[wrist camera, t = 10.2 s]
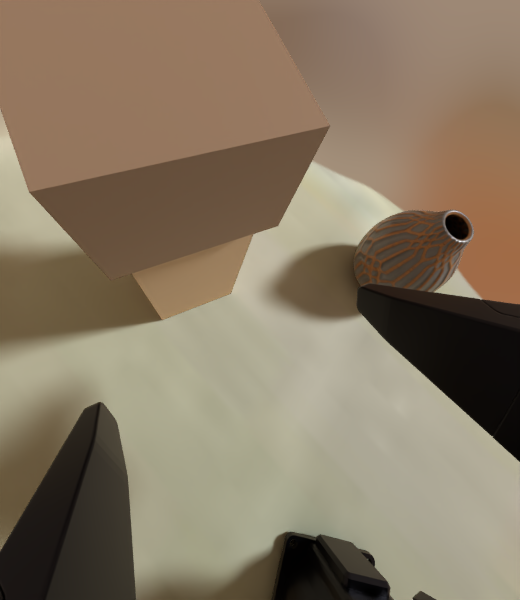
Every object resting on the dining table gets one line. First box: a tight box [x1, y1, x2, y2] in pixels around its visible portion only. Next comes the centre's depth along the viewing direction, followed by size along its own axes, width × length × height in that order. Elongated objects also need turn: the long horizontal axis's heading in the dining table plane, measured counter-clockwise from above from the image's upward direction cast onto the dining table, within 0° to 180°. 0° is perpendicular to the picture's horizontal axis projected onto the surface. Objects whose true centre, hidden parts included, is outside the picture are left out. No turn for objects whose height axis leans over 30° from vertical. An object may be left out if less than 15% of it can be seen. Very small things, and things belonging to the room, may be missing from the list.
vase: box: [353, 210, 474, 292], centre depth 22 cm, size 7×7×9 cm
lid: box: [0, 0, 330, 280], centre depth 9 cm, size 7×7×5 cm
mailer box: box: [132, 234, 253, 320], centre depth 17 cm, size 6×6×10 cm
